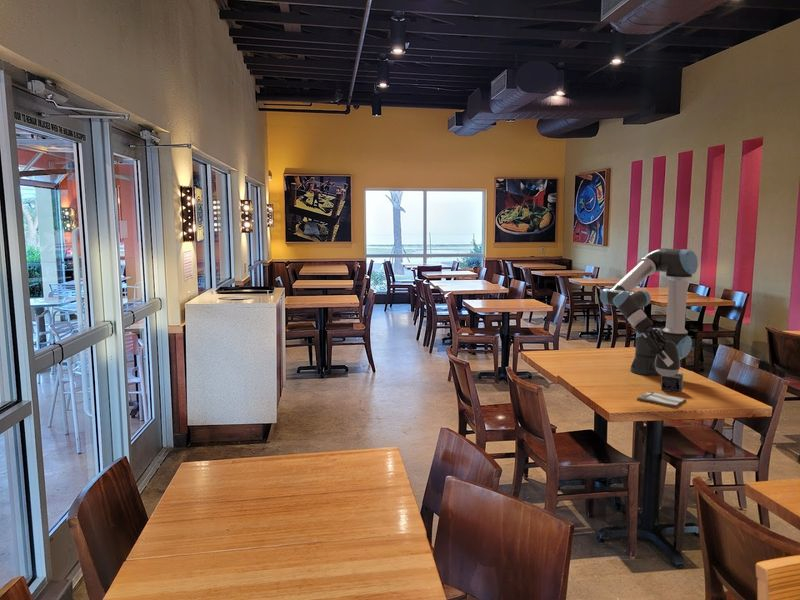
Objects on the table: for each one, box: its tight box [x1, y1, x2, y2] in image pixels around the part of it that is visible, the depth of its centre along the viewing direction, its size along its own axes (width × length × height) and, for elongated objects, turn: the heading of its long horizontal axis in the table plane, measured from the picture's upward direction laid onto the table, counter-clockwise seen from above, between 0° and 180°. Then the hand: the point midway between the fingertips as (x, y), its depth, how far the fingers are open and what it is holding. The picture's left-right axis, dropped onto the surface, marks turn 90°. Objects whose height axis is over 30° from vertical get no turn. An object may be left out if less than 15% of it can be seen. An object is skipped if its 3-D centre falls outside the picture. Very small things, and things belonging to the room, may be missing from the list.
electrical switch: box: [660, 372, 684, 393], centre depth 280 cm, size 9×5×9 cm, turn 57°
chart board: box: [636, 391, 687, 409], centre depth 265 cm, size 14×16×1 cm
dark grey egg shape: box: [655, 341, 681, 376], centre depth 261 cm, size 10×10×15 cm
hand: (674, 362), depth 260 cm, fingers closed on dark grey egg shape, 9 cm apart
